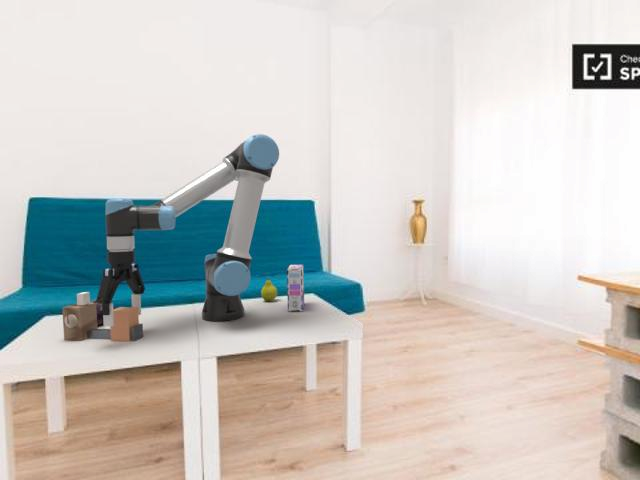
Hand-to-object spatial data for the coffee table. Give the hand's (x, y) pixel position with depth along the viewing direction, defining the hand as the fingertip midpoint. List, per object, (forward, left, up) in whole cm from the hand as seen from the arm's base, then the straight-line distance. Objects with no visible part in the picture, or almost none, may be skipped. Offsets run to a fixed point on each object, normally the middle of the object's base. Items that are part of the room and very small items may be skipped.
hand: (123, 319), depth 126 cm
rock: (+20, -15, -6) cm, 26 cm away
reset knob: (+13, 0, +5) cm, 14 cm away
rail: (+4, 0, -6) cm, 7 cm away
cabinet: (+15, 0, -6) cm, 16 cm away
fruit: (-30, -55, -6) cm, 63 cm away
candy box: (-44, -44, -6) cm, 63 cm away
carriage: (0, 0, -6) cm, 6 cm away
